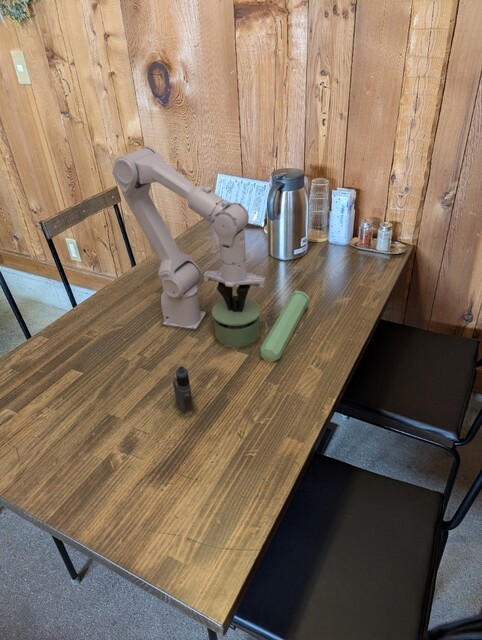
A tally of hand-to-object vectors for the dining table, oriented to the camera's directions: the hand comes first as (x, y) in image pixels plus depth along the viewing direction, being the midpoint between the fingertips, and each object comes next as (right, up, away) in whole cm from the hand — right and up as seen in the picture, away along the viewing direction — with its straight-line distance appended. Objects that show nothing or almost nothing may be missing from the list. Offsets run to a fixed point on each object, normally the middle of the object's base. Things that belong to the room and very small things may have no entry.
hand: (236, 308), depth 109 cm
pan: (0, -6, +4) cm, 8 cm away
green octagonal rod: (+12, -6, +4) cm, 14 cm away
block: (0, -6, +4) cm, 7 cm away
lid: (0, -1, 0) cm, 1 cm away
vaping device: (-10, -21, -16) cm, 28 cm away
